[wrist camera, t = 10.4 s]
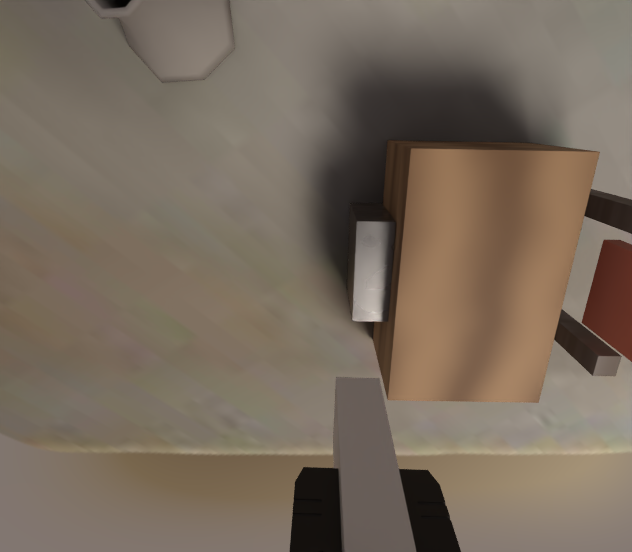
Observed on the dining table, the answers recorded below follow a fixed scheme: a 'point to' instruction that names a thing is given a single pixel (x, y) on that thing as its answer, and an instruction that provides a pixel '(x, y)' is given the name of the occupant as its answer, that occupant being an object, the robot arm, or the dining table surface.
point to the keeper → (612, 297)
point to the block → (486, 268)
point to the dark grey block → (370, 261)
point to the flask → (174, 34)
